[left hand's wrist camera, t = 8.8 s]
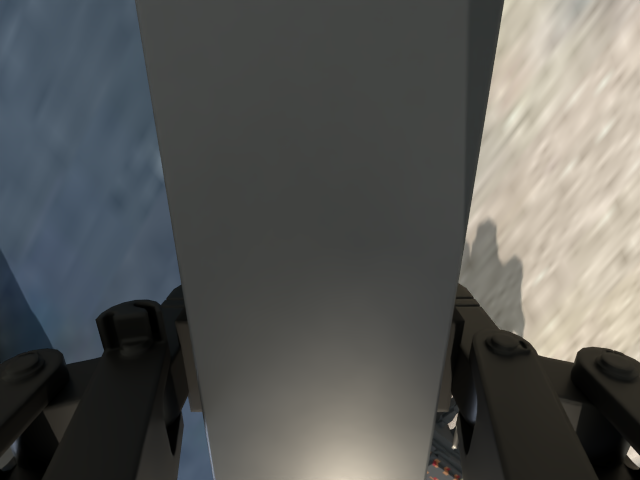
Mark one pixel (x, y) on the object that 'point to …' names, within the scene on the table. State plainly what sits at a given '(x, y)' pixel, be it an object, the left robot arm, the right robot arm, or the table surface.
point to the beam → (319, 218)
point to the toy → (444, 448)
